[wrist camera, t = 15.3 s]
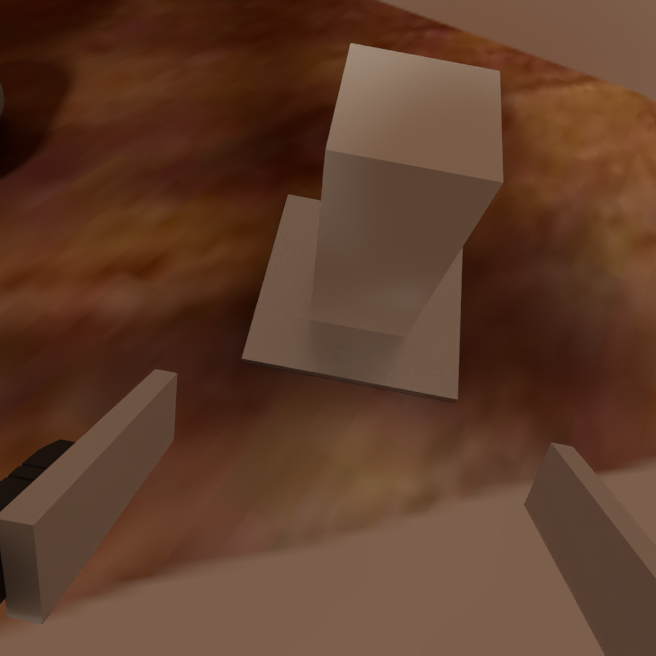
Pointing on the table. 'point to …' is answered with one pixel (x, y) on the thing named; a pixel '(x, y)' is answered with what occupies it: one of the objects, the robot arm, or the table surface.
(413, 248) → the beige square prism
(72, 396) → the table surface
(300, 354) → the square base plate
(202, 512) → the table surface
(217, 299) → the table surface
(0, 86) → the ceramic mug
